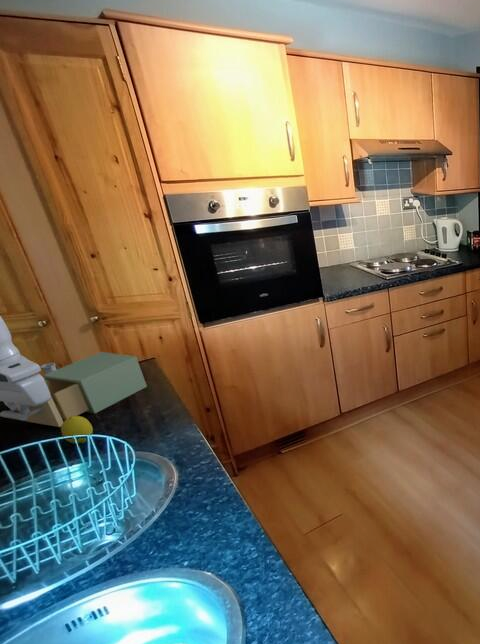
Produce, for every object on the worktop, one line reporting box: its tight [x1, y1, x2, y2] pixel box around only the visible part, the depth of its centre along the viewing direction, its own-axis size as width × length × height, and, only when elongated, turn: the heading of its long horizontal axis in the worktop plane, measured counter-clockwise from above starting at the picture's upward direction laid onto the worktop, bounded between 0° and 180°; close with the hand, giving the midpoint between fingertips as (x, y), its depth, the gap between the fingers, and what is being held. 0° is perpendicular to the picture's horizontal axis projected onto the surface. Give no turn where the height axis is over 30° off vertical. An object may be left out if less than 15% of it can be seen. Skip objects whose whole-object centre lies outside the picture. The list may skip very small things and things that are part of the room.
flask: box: [40, 362, 58, 375], centre depth 135 cm, size 7×7×10 cm
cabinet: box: [42, 351, 148, 414], centre depth 133 cm, size 16×14×11 cm
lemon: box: [60, 415, 94, 444], centre depth 113 cm, size 6×6×8 cm
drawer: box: [0, 379, 91, 428], centre depth 123 cm, size 20×12×9 cm, turn 167°
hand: (23, 414), depth 117 cm, fingers closed
